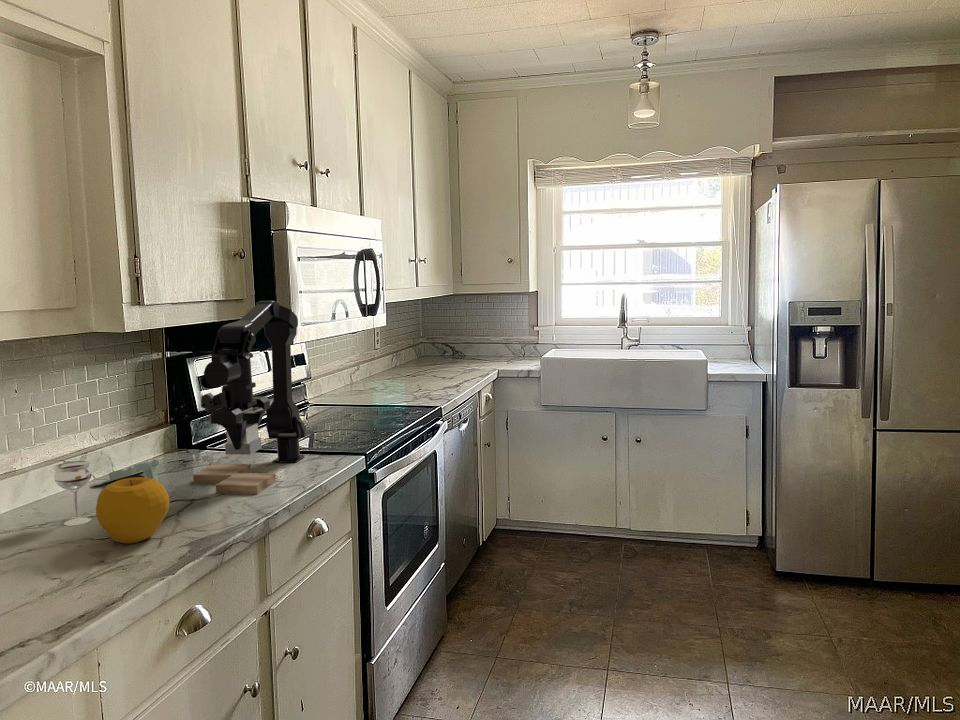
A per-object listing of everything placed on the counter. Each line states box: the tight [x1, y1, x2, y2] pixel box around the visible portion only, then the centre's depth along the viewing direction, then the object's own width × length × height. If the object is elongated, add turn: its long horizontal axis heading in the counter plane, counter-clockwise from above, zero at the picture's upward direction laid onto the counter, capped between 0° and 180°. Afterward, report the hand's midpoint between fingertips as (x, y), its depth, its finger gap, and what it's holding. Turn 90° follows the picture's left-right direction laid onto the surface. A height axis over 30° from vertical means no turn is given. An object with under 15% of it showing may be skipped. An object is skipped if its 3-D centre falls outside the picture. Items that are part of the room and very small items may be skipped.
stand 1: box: [192, 463, 252, 484], centre depth 184 cm, size 10×10×2 cm
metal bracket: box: [89, 458, 168, 488], centre depth 184 cm, size 14×6×15 cm
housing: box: [224, 423, 263, 456], centre depth 174 cm, size 6×6×6 cm
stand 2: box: [215, 472, 277, 495], centre depth 175 cm, size 10×10×2 cm
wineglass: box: [53, 460, 92, 527], centre depth 154 cm, size 7×7×12 cm
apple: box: [95, 476, 171, 545], centre depth 143 cm, size 13×13×11 cm
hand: (243, 446), depth 174 cm, fingers closed on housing, 6 cm apart
